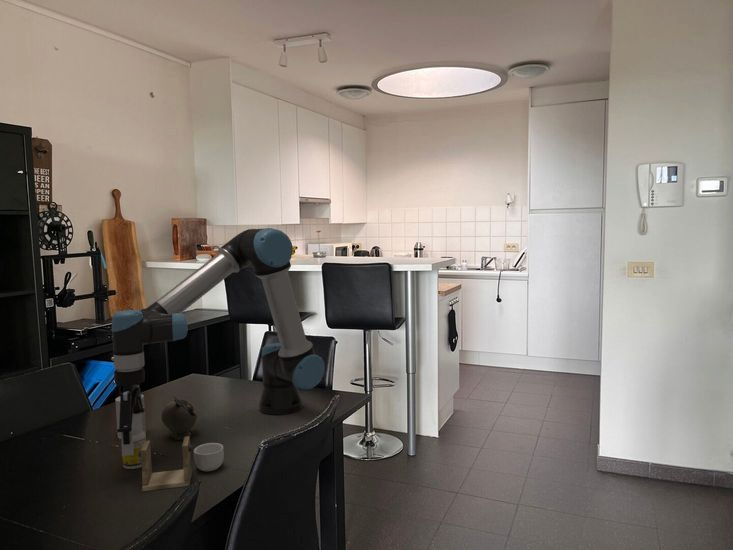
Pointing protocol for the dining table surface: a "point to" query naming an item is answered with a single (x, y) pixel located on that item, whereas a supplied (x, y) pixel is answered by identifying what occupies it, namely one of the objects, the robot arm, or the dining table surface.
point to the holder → (167, 477)
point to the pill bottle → (135, 448)
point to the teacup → (209, 456)
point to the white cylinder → (133, 413)
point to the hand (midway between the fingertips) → (132, 445)
